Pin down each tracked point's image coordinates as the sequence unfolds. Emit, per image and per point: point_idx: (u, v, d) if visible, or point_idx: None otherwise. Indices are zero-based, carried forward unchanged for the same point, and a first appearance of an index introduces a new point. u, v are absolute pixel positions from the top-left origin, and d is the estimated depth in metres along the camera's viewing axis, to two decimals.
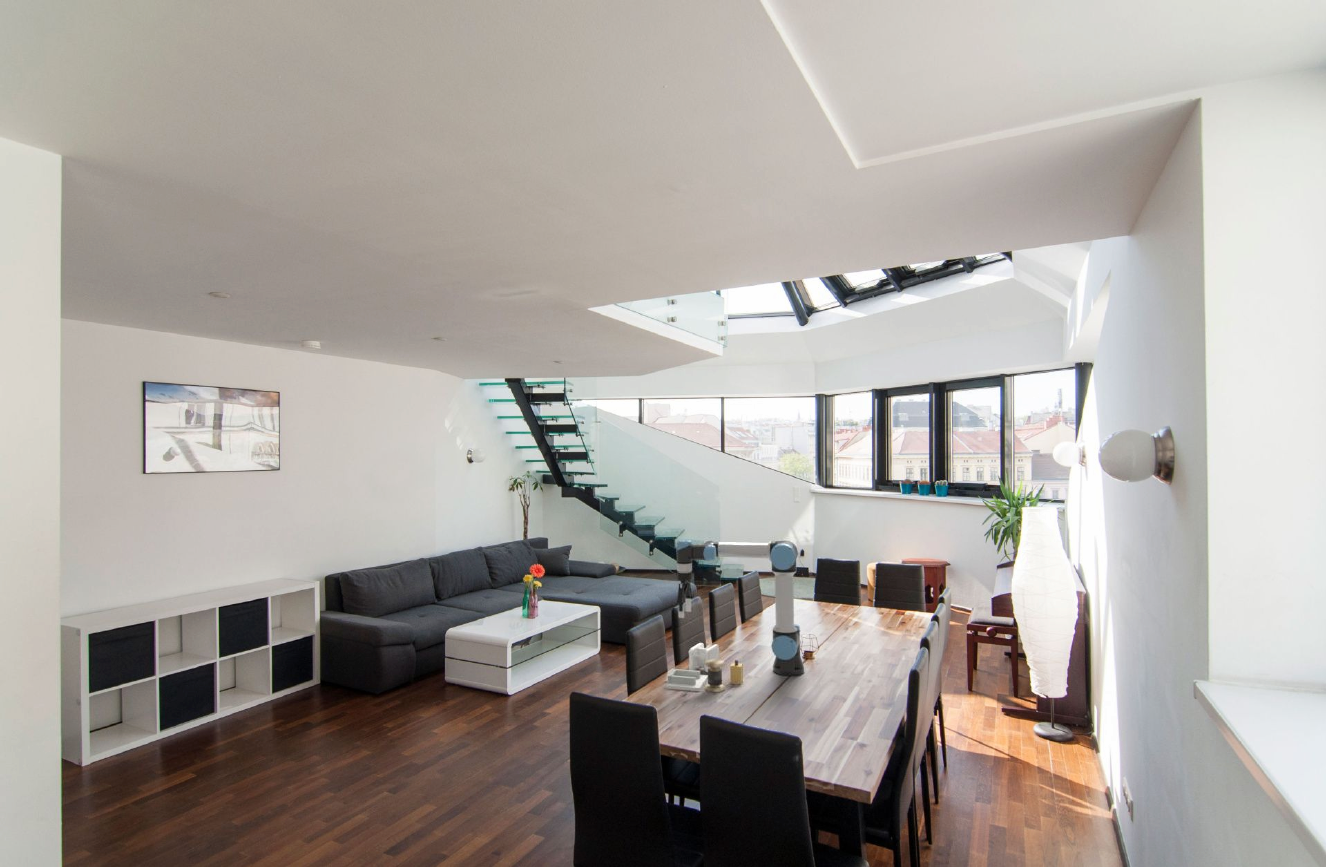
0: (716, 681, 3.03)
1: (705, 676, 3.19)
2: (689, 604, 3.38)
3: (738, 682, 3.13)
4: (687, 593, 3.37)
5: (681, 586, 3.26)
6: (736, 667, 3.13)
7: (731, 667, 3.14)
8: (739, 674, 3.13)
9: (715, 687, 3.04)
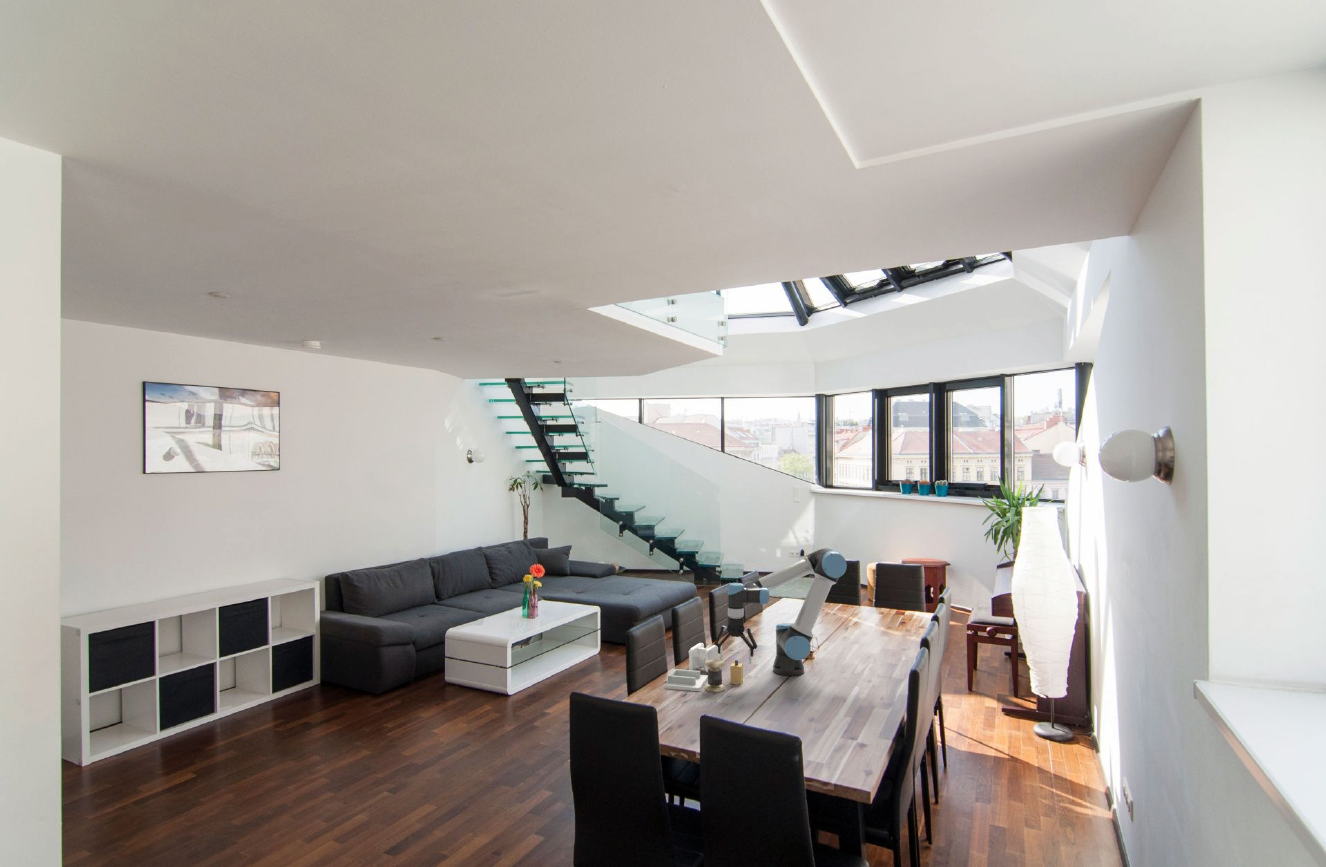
0: (716, 681, 3.03)
1: (705, 676, 3.19)
2: None
3: (738, 682, 3.13)
4: None
5: None
6: (736, 667, 3.13)
7: (731, 667, 3.14)
8: (739, 674, 3.13)
9: (715, 687, 3.04)
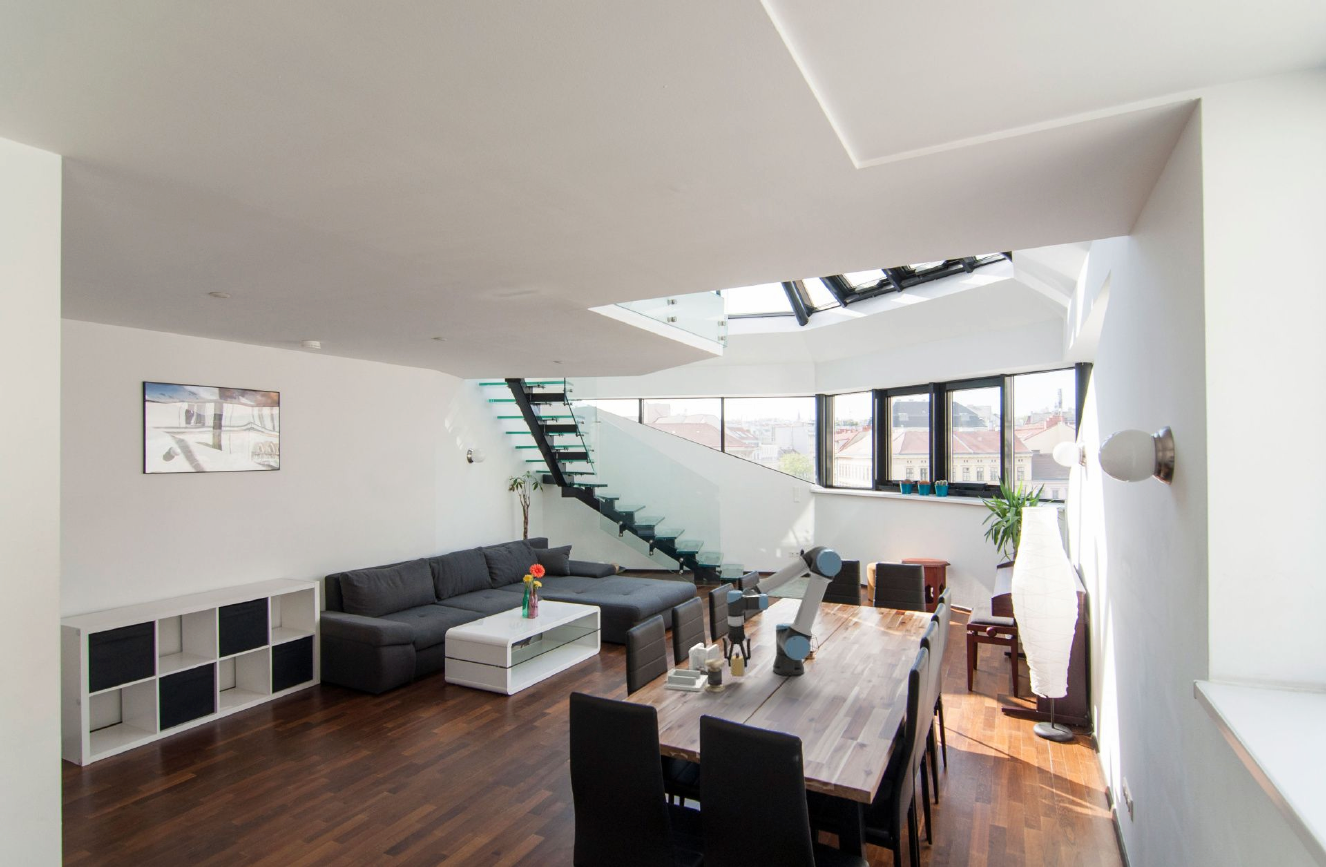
0: (716, 681, 3.03)
1: (705, 676, 3.19)
2: None
3: (739, 675, 3.13)
4: None
5: None
6: (737, 660, 3.13)
7: (732, 660, 3.14)
8: (740, 667, 3.13)
9: (715, 687, 3.04)
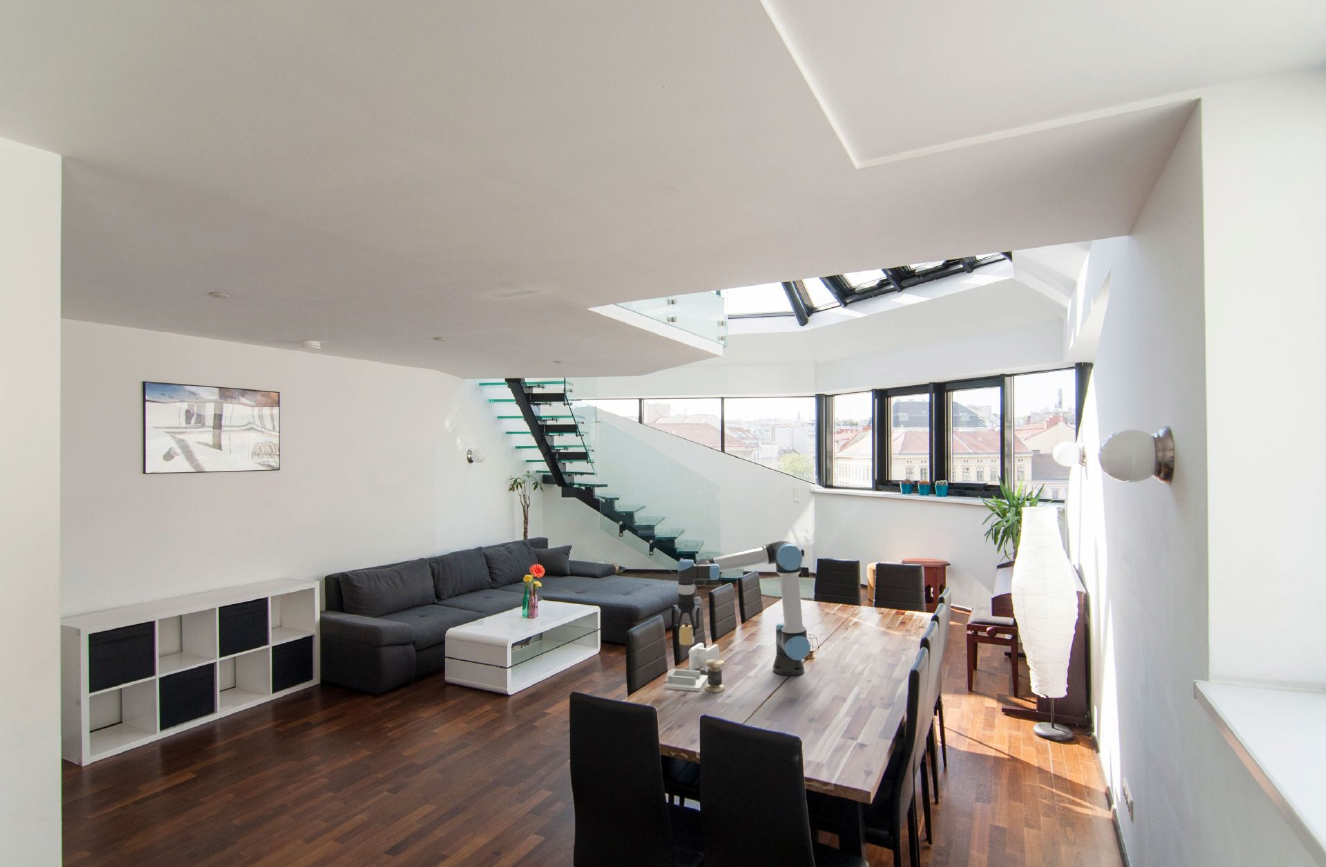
0: (716, 681, 3.03)
1: (705, 676, 3.19)
2: None
3: (688, 643, 3.12)
4: None
5: None
6: (686, 628, 3.12)
7: (681, 628, 3.13)
8: (689, 635, 3.12)
9: (715, 687, 3.04)
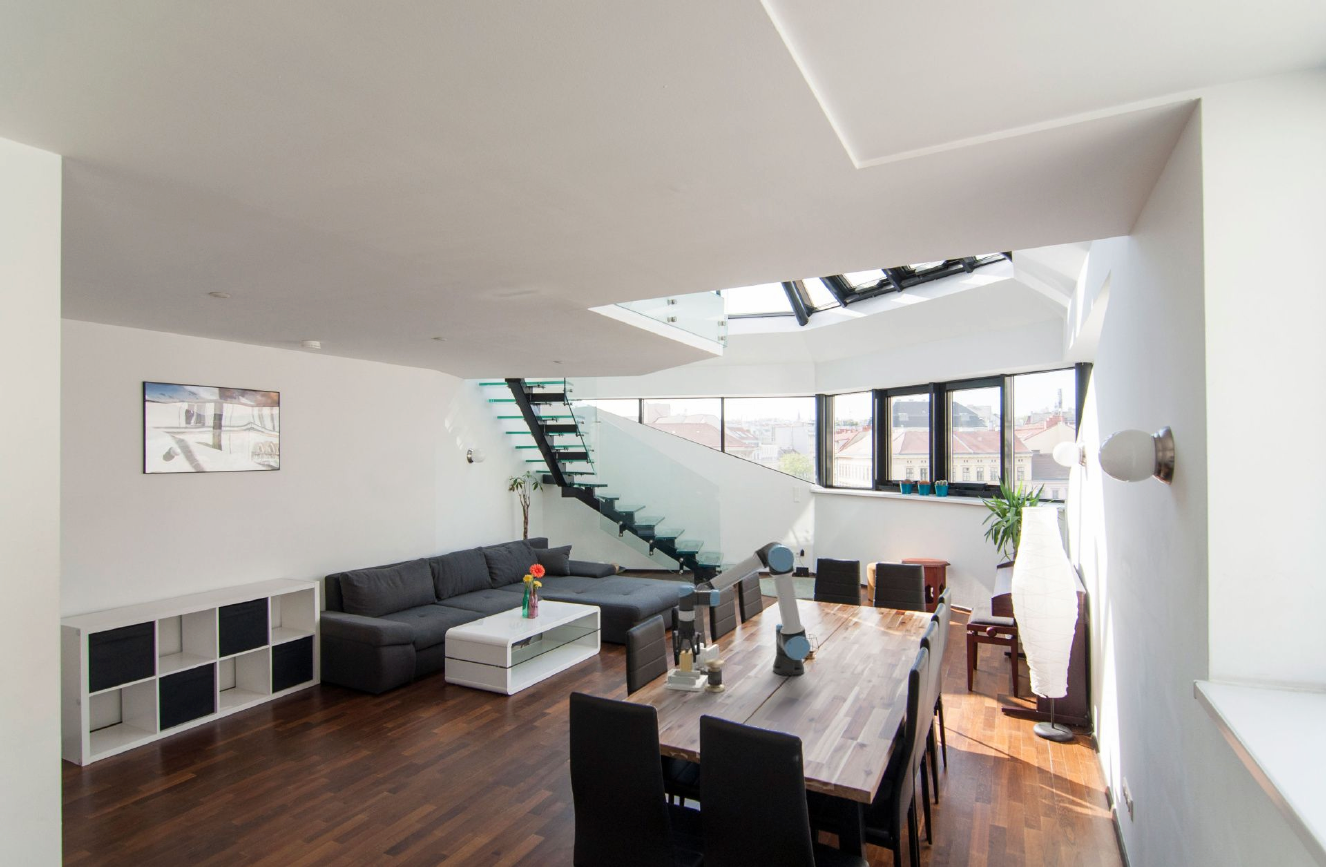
0: (716, 681, 3.03)
1: (705, 676, 3.19)
2: None
3: (688, 670, 3.11)
4: None
5: None
6: (686, 655, 3.12)
7: (681, 655, 3.12)
8: (689, 662, 3.11)
9: (715, 687, 3.04)
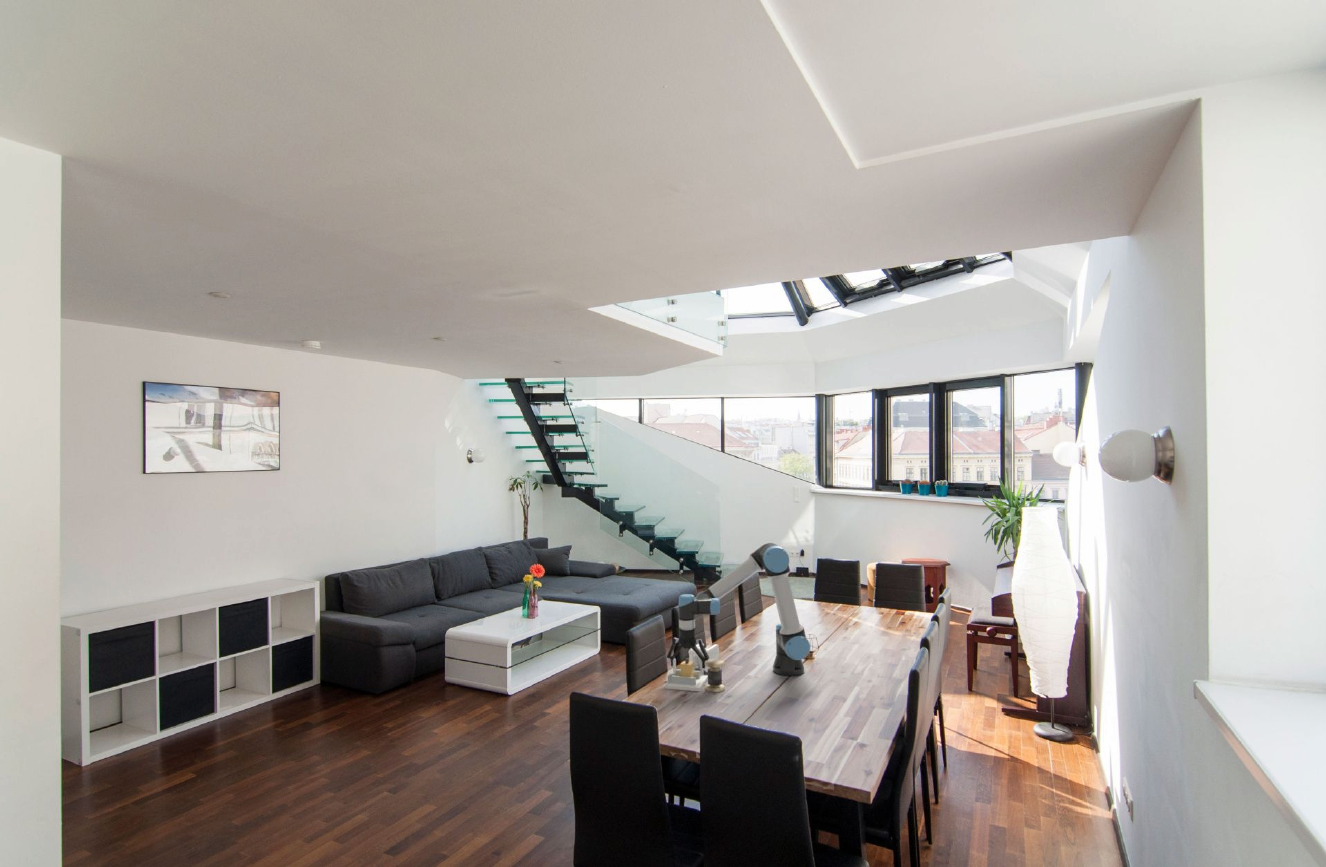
0: (716, 681, 3.03)
1: (705, 676, 3.19)
2: None
3: None
4: None
5: None
6: (686, 665, 3.11)
7: (681, 665, 3.12)
8: (689, 672, 3.11)
9: (715, 687, 3.04)
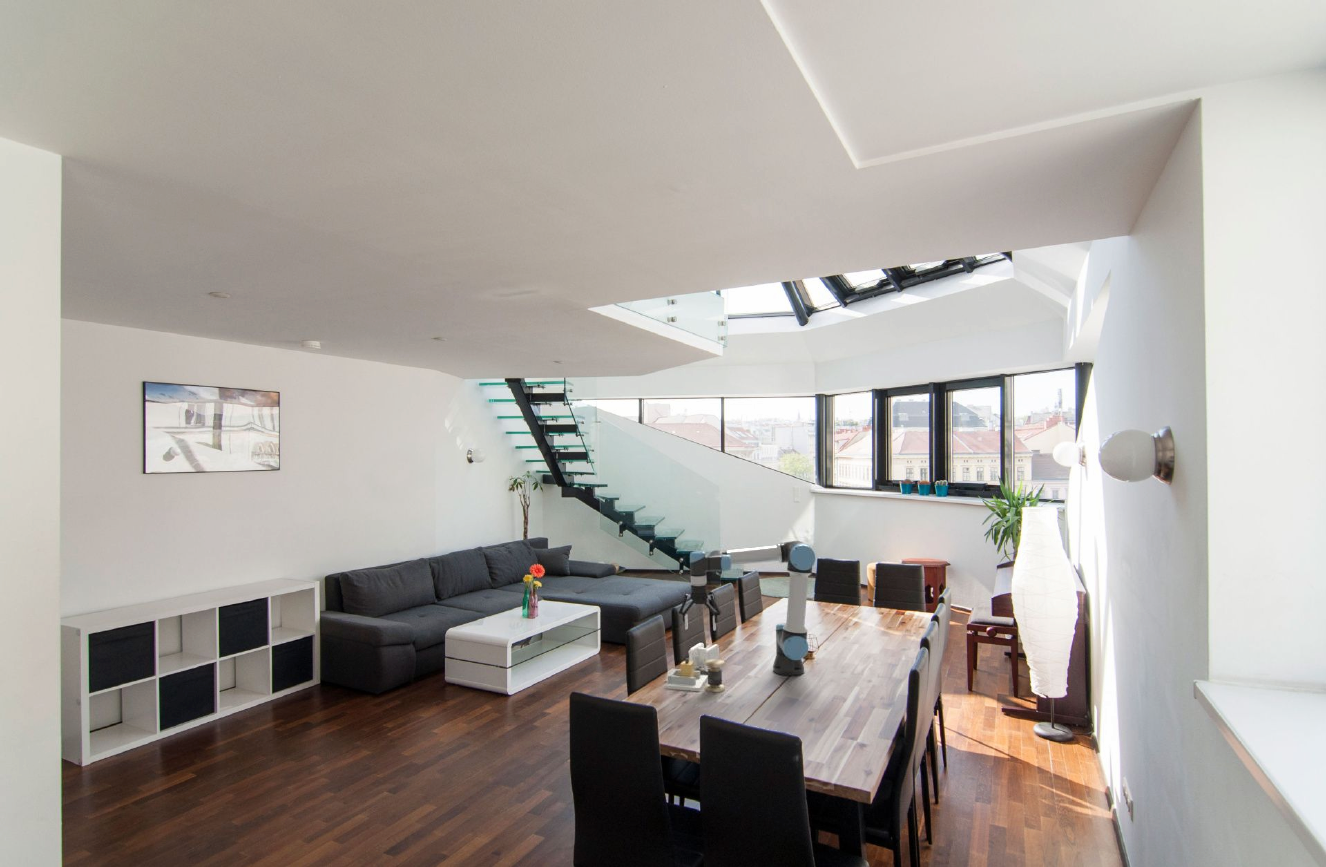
0: (716, 681, 3.03)
1: (705, 676, 3.19)
2: None
3: None
4: None
5: None
6: (686, 665, 3.11)
7: (681, 665, 3.12)
8: (689, 672, 3.11)
9: (715, 687, 3.04)
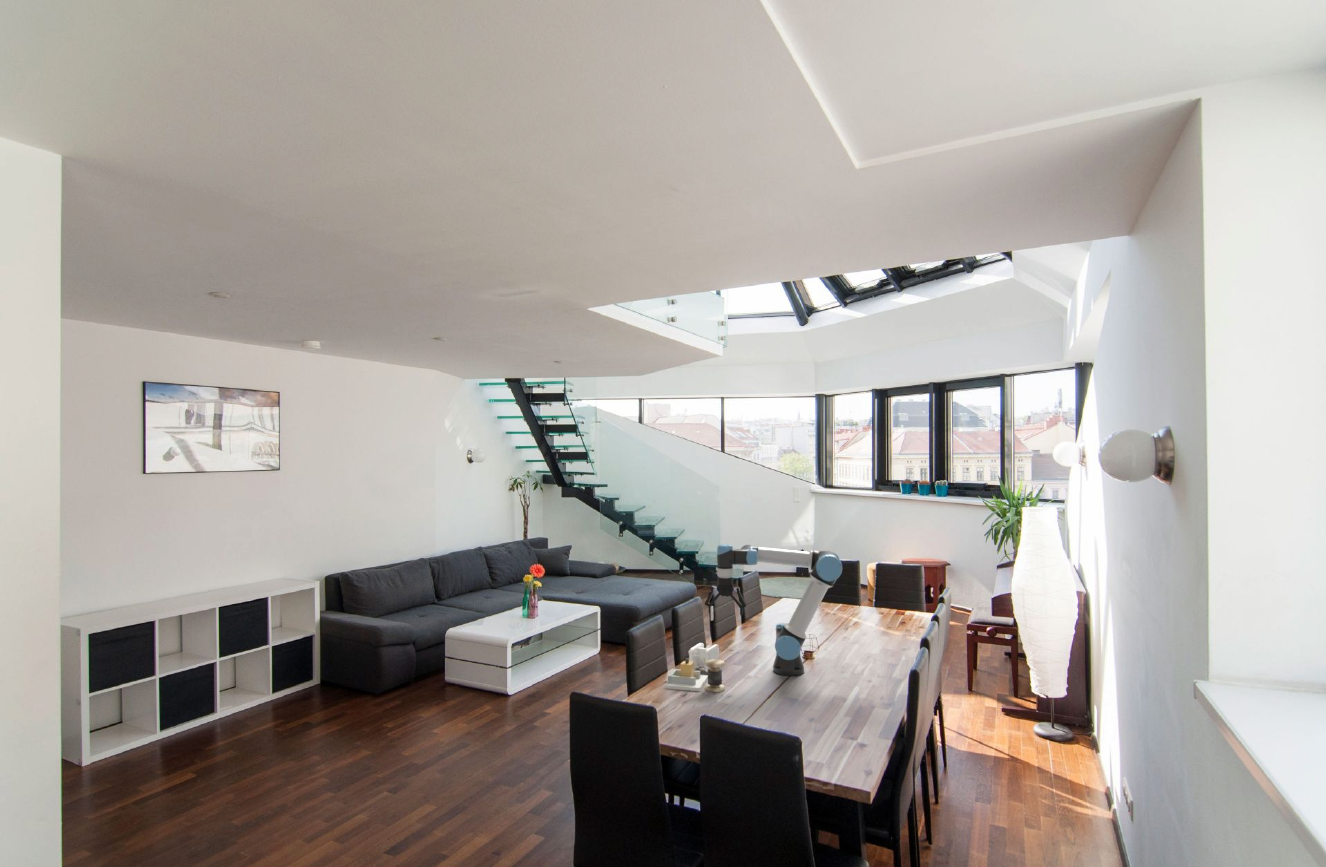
0: (716, 681, 3.03)
1: (705, 676, 3.19)
2: None
3: None
4: None
5: None
6: (686, 665, 3.11)
7: (681, 665, 3.12)
8: (689, 672, 3.11)
9: (715, 687, 3.04)
